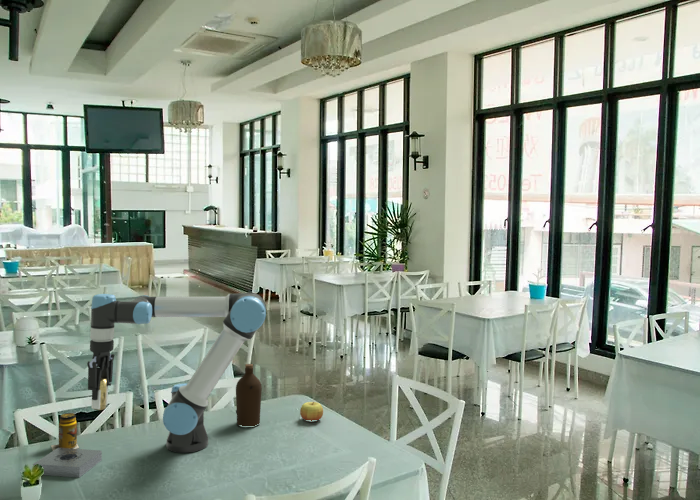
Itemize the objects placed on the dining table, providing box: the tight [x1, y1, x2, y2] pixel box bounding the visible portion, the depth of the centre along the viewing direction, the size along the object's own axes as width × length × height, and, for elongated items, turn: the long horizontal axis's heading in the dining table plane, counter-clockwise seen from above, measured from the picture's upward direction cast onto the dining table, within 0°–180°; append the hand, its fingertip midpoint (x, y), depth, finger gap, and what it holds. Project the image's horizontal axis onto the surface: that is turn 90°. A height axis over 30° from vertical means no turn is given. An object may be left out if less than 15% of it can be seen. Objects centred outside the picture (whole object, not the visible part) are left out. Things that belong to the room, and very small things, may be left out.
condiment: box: [50, 412, 80, 451], centre depth 220 cm, size 7×8×12 cm
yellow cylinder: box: [93, 378, 107, 411], centre depth 207 cm, size 4×4×10 cm
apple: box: [299, 401, 324, 421], centre depth 255 cm, size 10×10×8 cm
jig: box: [32, 448, 103, 478], centre depth 203 cm, size 16×14×4 cm
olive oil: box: [235, 363, 263, 426], centre depth 248 cm, size 11×11×25 cm
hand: (99, 406), depth 207 cm, fingers closed on yellow cylinder, 4 cm apart
